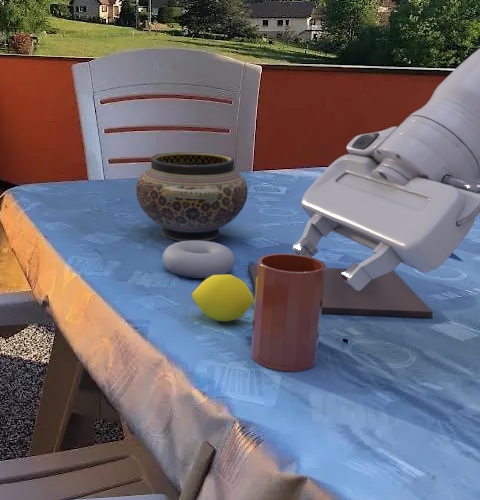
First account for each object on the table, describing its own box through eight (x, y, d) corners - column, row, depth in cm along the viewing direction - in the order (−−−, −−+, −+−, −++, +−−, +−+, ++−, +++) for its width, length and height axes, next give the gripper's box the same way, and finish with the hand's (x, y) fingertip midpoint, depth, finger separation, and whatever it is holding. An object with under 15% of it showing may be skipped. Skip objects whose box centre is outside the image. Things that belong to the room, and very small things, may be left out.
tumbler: (309, 346, 74) (318, 254, 71) (321, 373, 68) (331, 274, 65) (248, 343, 75) (254, 252, 72) (254, 370, 68) (261, 271, 66)
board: (393, 275, 98) (393, 270, 98) (432, 318, 83) (433, 311, 83) (247, 270, 99) (248, 264, 99) (259, 311, 84) (260, 304, 84)
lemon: (253, 314, 83) (256, 270, 81) (251, 331, 78) (254, 285, 76) (194, 308, 84) (196, 265, 83) (187, 325, 79) (189, 279, 77)
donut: (175, 257, 105) (151, 275, 96) (176, 235, 104) (152, 250, 95) (241, 266, 101) (223, 285, 92) (243, 242, 100) (225, 260, 91)
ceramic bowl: (157, 230, 130) (138, 151, 127) (253, 211, 127) (236, 129, 123) (141, 271, 107) (117, 175, 103) (258, 249, 104) (238, 149, 100)
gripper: (515, 213, 62) (404, 327, 62) (376, 173, 80) (291, 260, 80) (482, 163, 59) (366, 282, 59) (346, 134, 78) (258, 223, 78)
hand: (322, 269), depth 70 cm, fingers open, 8 cm apart
